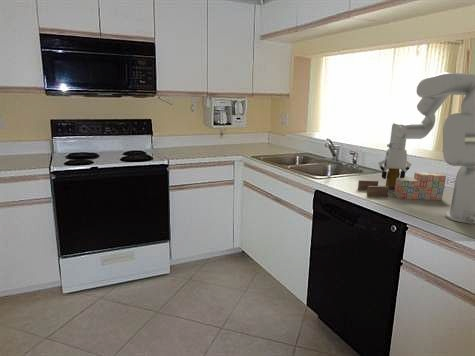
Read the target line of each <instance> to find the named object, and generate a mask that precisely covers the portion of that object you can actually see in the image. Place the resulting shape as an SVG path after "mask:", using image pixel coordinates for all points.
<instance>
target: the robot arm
mask: <svg viewBox="0 0 475 356" xmlns="http://www.w3.org/2000/svg"><path fill="white" fill-rule="evenodd" d="M416 94H417V96H418V97H419V98H420V100H419V101H418V103H417V105H416V108H417V109H416V110H417V111H418V113H420V114H422V115H423V116H424V118H423V120H422V121H421V122H420V123H406V122H393V124H391V131H390V138H389V143H388V144H386V147H388V148H387V151H386V153H385V157H384V160H382V161H379V162H378V163H377V164H378V167H379V169H380V171H382V172H381V178H382V179H383V180H386V179H387V172H388V169H389V168H390V169H399V170H401V171H400V175H399V178H406V173H407V172H408V171H409V170H410V168H411V166H412V163H411V162H408V153H407V149H406V145H407V140H421V139H422V140H423V139H424V138H426V137H427V136H428V135H429V133H430V132H431V131H432V130H433V128H434V127H435V124H436V113H437V111H438V110H439V108H440V107H441V106H442V105H443V103H444V102H445V100H447V98H448V97H449V96H451V95H452V96H454V95H455V96H458V95H459V96H460V95H461V96H464V97H463V99H462V101H461V105H460V107H461V111H460V112H458V113H457V112H456V113H452V114H450V115H448V116H447V117H446V119H445V120H444V123H443V126H442V153H443V154H442V155H443V159H444V161H445V163H446V164H447V165H450V166H453V167H460V168H459V169H458V171H457V173H456V177H455V181H454V185H453V186H454V187H453V192H452V198H451V204H450V209H449V211H446V212H445V214H444V216H445V218H447V219H449V220H451V221H455V222H459V223H464V224H471V225H475V140H474V141H472V140H471V141H470V140H469V141H468V140H467V141H466V139H475V73H467V72H464V73H463V72H462V73H461V72H460V73H459V72H443V73H439V74H436V75H431V76H428V77H425V78H423V79H422V80H420V81H419V83H418V85H417V86H416Z"/></svg>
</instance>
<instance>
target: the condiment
mask: <svg viewBox="0 0 475 356" xmlns="http://www.w3.org/2000/svg"><path fill="white" fill-rule="evenodd" d="M386 172H387V175H386V179H385V186H388V187H389V189H390V190H395V184H396V178H400V173H401V171H400V169H390V168H388V169H387V171H386Z"/></svg>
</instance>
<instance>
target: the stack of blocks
mask: <svg viewBox="0 0 475 356" xmlns="http://www.w3.org/2000/svg"><path fill="white" fill-rule="evenodd" d="M446 178H447V175H445V174H442V173H439V172H429V171H427V172H414V174H413V177H412V178H411V177H410V178H409V177H408V178H407V177H405V178H400V177H399V178H396V184H395V190H394V192H393V196H394V197H396V198H398V199H400V200H430V201H431V200H435V201H436V200H437V201H439V200H440V201H441V200H443V195H444V191H445V185H446Z"/></svg>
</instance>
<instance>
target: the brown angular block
mask: <svg viewBox="0 0 475 356" xmlns="http://www.w3.org/2000/svg"><path fill="white" fill-rule="evenodd" d="M357 184H358V185H357V190H358V191H366V197H374V198H375V197H376V198H377V197H379V198H380V197H382V198H387V197H389V196H388V195H389V192H388V191H389V187H388V186H386V185H379V180H366V179H365V180H363V179H359V180H358V183H357Z"/></svg>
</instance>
